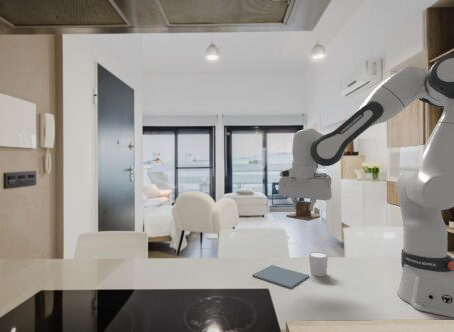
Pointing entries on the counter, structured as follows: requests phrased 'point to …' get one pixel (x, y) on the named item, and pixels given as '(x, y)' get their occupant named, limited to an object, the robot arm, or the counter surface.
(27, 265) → the counter surface
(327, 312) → the counter surface
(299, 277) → the mat
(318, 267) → the shot glass
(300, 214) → the brown wooden pedestal
